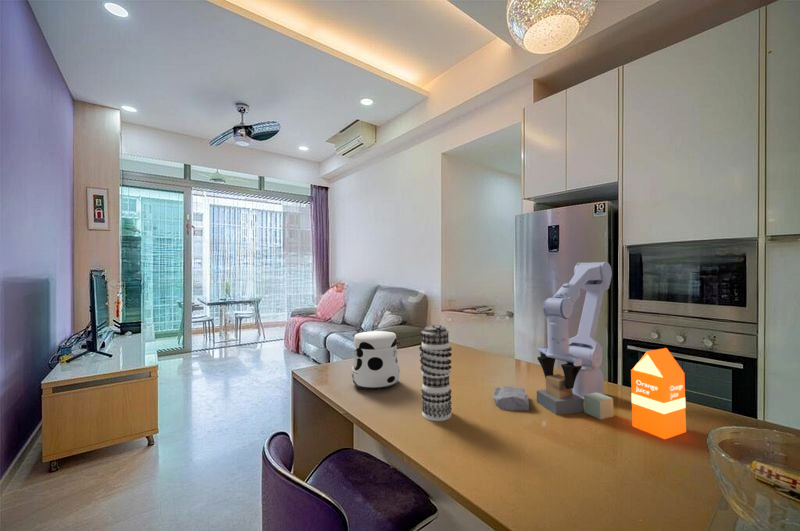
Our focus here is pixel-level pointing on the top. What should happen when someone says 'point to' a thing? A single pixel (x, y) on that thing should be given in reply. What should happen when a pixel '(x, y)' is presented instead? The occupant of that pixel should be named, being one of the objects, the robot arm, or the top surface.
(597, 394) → the sage block
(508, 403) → the stone block
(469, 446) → the top surface
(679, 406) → the orange juice
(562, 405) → the charcoal block
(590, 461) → the top surface
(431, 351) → the decorative candle
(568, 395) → the walnut block
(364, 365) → the milk container
